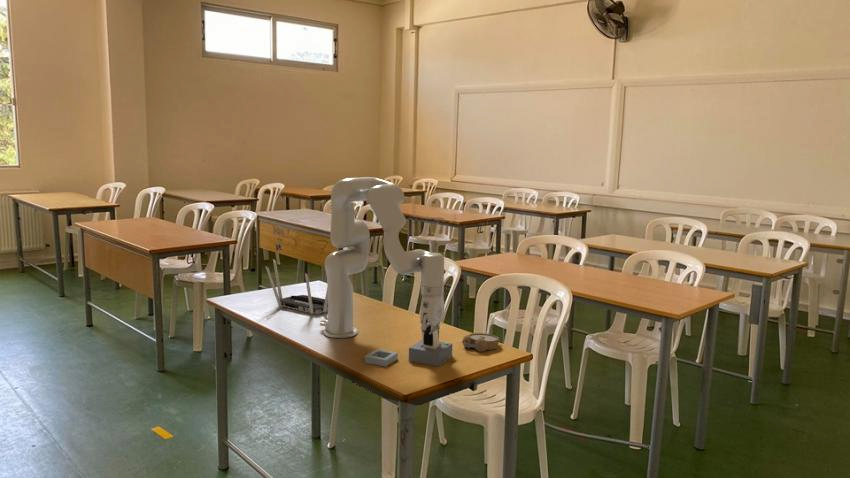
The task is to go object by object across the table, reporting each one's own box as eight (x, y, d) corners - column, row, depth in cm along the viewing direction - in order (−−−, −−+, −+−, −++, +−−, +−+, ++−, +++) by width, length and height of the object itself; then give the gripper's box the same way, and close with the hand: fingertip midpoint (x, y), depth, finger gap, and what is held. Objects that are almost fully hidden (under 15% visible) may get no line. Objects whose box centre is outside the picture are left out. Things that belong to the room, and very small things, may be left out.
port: (408, 360, 211) (409, 346, 210) (423, 351, 220) (423, 337, 220) (438, 366, 206) (439, 352, 205) (452, 356, 216) (452, 342, 215)
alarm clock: (505, 338, 228) (482, 340, 216) (503, 351, 228) (480, 354, 216) (480, 331, 235) (456, 333, 224) (478, 344, 235) (454, 347, 224)
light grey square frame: (364, 362, 208) (364, 356, 208) (376, 355, 215) (377, 349, 215) (385, 366, 205) (385, 360, 204) (397, 359, 212) (397, 352, 211)
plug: (424, 355, 212) (421, 326, 211) (429, 351, 215) (426, 323, 214) (435, 355, 210) (432, 326, 209) (440, 352, 213) (437, 323, 212)
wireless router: (352, 309, 271) (352, 264, 268) (316, 322, 252) (316, 273, 249) (295, 297, 289) (294, 254, 286) (257, 308, 270) (256, 262, 266)
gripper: (431, 297, 200) (430, 352, 203) (452, 286, 215) (451, 337, 218) (410, 294, 203) (410, 348, 206) (432, 283, 218) (431, 334, 221)
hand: (431, 342), depth 212 cm, fingers closed on plug, 4 cm apart
